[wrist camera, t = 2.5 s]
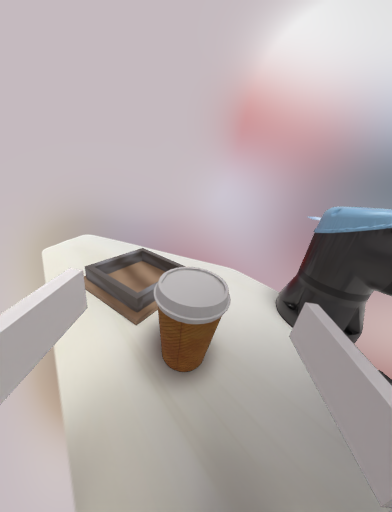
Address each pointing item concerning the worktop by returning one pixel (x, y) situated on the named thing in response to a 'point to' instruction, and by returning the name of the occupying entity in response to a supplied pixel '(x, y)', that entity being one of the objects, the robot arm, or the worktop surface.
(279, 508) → the worktop surface
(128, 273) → the cup holder plate
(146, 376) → the worktop surface
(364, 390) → the robot arm
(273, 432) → the worktop surface
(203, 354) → the disposable coffee cup
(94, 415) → the worktop surface
